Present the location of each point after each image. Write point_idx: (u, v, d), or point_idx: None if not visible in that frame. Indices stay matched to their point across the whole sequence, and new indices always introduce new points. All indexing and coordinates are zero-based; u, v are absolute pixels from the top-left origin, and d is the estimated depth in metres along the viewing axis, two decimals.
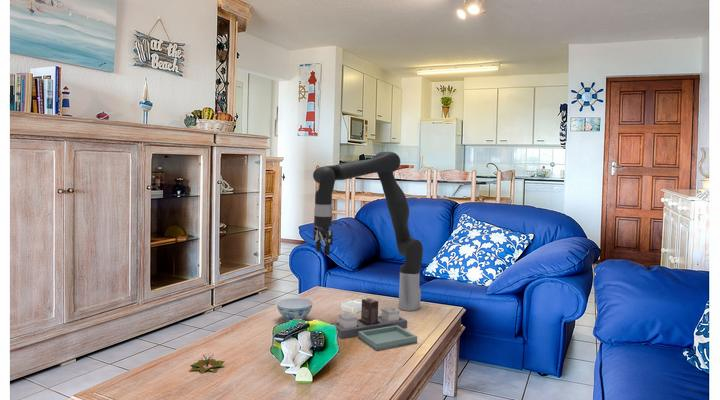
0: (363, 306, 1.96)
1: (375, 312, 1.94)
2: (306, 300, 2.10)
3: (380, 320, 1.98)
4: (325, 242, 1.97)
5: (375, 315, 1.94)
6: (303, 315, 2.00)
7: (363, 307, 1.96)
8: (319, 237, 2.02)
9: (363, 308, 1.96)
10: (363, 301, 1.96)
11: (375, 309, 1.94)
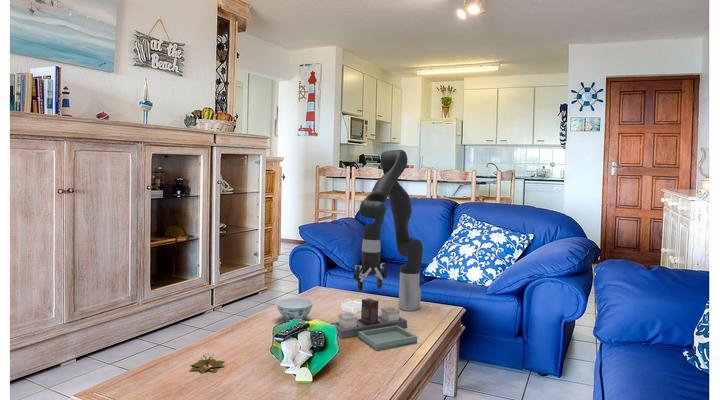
0: (363, 306, 1.96)
1: (375, 312, 1.94)
2: (306, 300, 2.10)
3: (380, 320, 1.98)
4: (381, 276, 1.97)
5: (375, 315, 1.94)
6: (303, 315, 2.00)
7: (363, 307, 1.96)
8: (369, 274, 1.94)
9: (363, 308, 1.96)
10: (363, 301, 1.96)
11: (375, 309, 1.94)
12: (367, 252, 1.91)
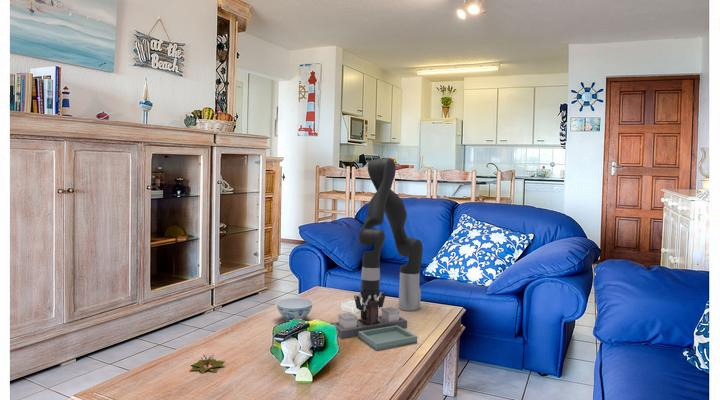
0: None
1: (375, 312, 1.94)
2: (306, 300, 2.10)
3: (380, 320, 1.98)
4: (378, 305, 1.97)
5: (375, 315, 1.94)
6: (303, 315, 2.00)
7: None
8: None
9: None
10: None
11: (375, 309, 1.94)
12: (366, 280, 1.92)
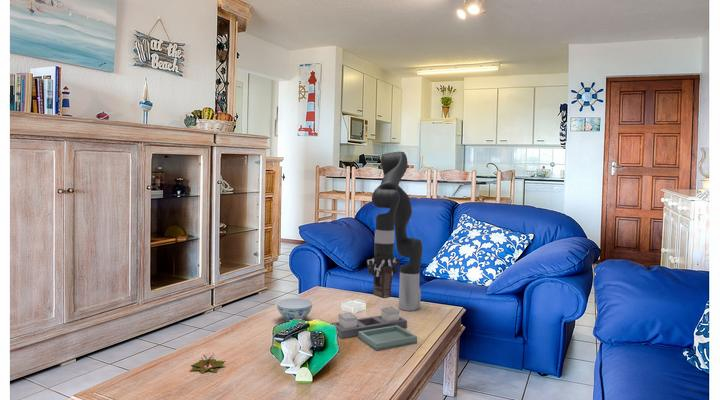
0: None
1: (389, 278, 1.83)
2: (306, 300, 2.10)
3: (380, 320, 1.98)
4: (392, 271, 1.86)
5: (388, 281, 1.83)
6: (303, 315, 2.00)
7: None
8: None
9: None
10: None
11: (389, 275, 1.83)
12: (380, 243, 1.81)
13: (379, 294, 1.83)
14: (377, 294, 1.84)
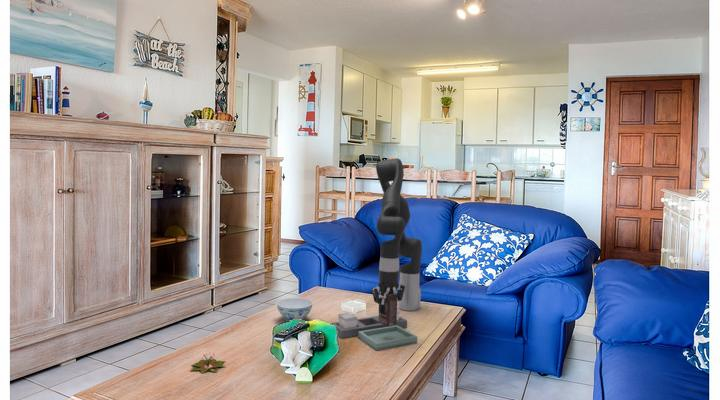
0: None
1: (394, 306, 1.82)
2: (306, 300, 2.10)
3: None
4: (397, 298, 1.84)
5: (394, 309, 1.82)
6: (303, 315, 2.00)
7: None
8: (387, 294, 1.82)
9: None
10: None
11: (394, 302, 1.82)
12: (385, 271, 1.79)
13: (384, 322, 1.82)
14: (382, 322, 1.83)
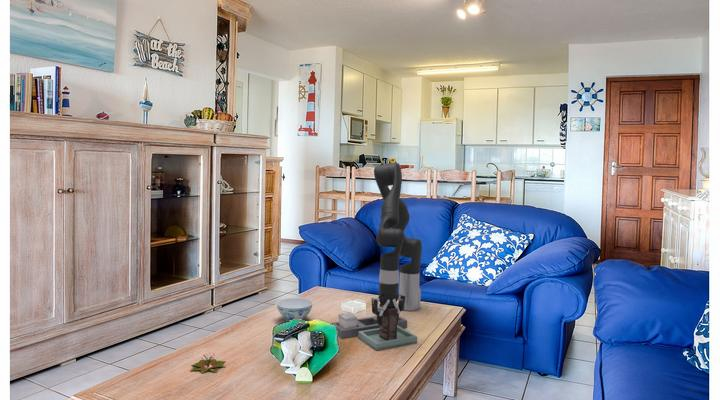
0: (382, 314, 1.84)
1: (394, 320, 1.82)
2: (306, 300, 2.10)
3: None
4: (398, 309, 1.85)
5: (394, 323, 1.82)
6: (303, 315, 2.00)
7: (382, 315, 1.84)
8: (387, 306, 1.82)
9: (382, 316, 1.84)
10: None
11: (394, 317, 1.82)
12: (385, 283, 1.79)
13: (385, 336, 1.83)
14: (382, 336, 1.84)
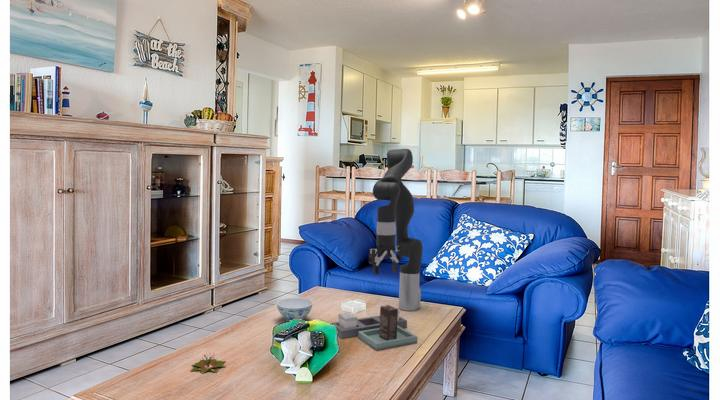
0: (382, 314, 1.84)
1: (394, 320, 1.82)
2: (306, 300, 2.10)
3: None
4: (397, 259, 1.92)
5: (394, 323, 1.82)
6: (303, 315, 2.00)
7: (382, 315, 1.84)
8: (385, 257, 1.88)
9: (382, 316, 1.84)
10: (382, 308, 1.84)
11: (394, 317, 1.82)
12: (382, 235, 1.86)
13: (385, 336, 1.83)
14: (382, 336, 1.84)
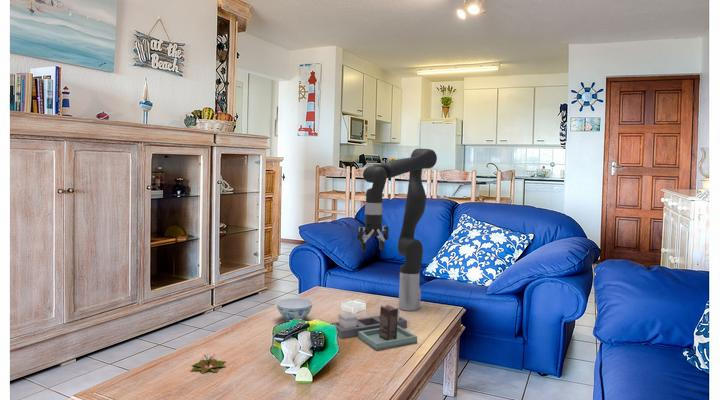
0: (382, 314, 1.84)
1: (394, 320, 1.82)
2: (306, 300, 2.10)
3: None
4: (383, 237, 2.08)
5: (394, 323, 1.82)
6: (303, 315, 2.00)
7: (382, 315, 1.84)
8: (372, 235, 2.05)
9: (382, 316, 1.84)
10: (382, 308, 1.84)
11: (394, 317, 1.82)
12: (370, 214, 2.03)
13: (385, 336, 1.83)
14: (382, 336, 1.84)
